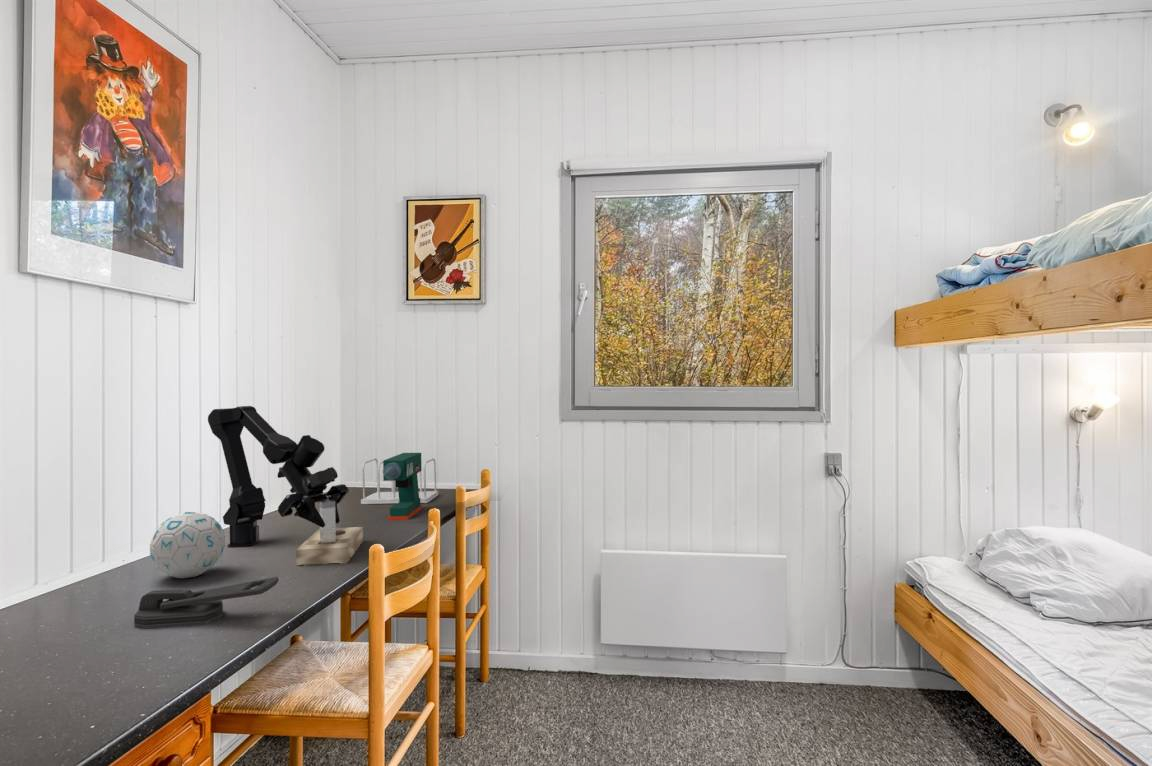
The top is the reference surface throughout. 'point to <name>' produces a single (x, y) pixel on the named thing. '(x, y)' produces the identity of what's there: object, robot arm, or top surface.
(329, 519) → the square bit
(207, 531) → the puzzle ball
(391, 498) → the file sorter
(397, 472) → the power tool
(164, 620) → the zipper pull
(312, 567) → the top surface
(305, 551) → the bore board
